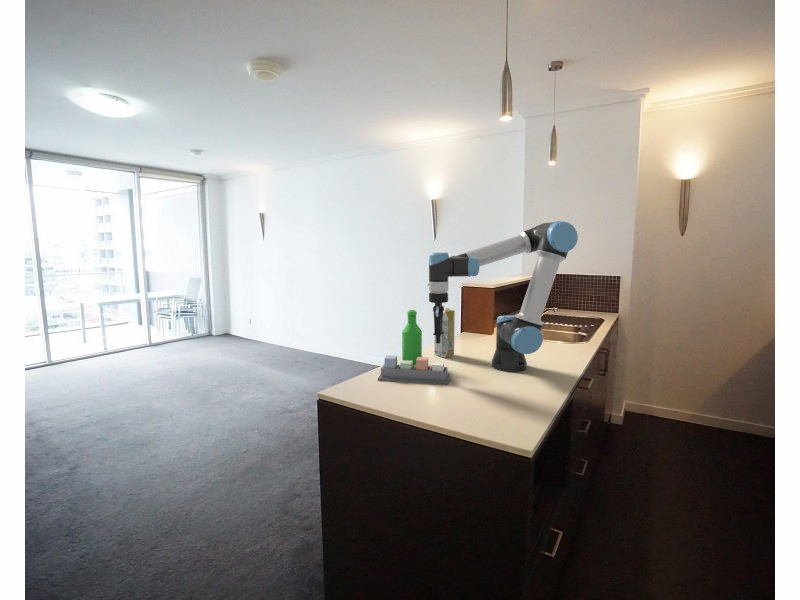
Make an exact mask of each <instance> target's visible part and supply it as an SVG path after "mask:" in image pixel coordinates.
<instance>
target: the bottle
mask: <svg viewBox="0 0 800 600" xmlns="http://www.w3.org/2000/svg"><path fill="white" fill-rule="evenodd" d="M406 314H407V322H406V323H407V324H406V325H405V326H404V328H403V329H402V330H401V331H402V332H401V335H402V336H401V343H402V344H401V348H402V349H401V353H402V354H401V356H402V357H401V358H402V360H408V361H413V365H416V359H417V357H423V352H422V351H423V348H422V347H423V344H422V343H423V338H422V336H423V331H422V329H421V328H420V326H419V325H418V323H417V314H418V312H417V310H414V309H410V310H407V313H406ZM402 360H401V361H402Z"/></svg>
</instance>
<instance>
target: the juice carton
mask: <svg viewBox="0 0 800 600" xmlns="http://www.w3.org/2000/svg"><path fill="white" fill-rule="evenodd" d="M455 312H456V311H455V310H453V309H451V308H450V307H449V306H444V310H443V323H442V329H443V330H442V332H444V334H442V351H435V341H434V346H433V347H434V355H435V356H437V357H441V358H443V359H445V358H446V359H447V358H451V357H454V356H455V331H456V330H455V327H456V326H455V321H456V320H455V319H456V318H455V314H456V313H455Z"/></svg>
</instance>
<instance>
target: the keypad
mask: <svg viewBox="0 0 800 600" xmlns="http://www.w3.org/2000/svg"><path fill="white" fill-rule="evenodd" d="M448 368H449V367H447V366H444V371H432V365H431V366H430V365H428V371H427V370H416V365H413V370H409V369H400V364H397V369H391V368H385V363H383V365H382V366H381V368H380V375H379V376H378V377H377V382H396V383H410V384H411V383H414V384H426V385H428V384H429V385H442V386H443V385H444V386H448V385H449V381H450V374H451V373H448V372H449V371H448Z"/></svg>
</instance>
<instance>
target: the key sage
mask: <svg viewBox="0 0 800 600" xmlns="http://www.w3.org/2000/svg"><path fill="white" fill-rule="evenodd" d="M399 365H400V369H409V370H413V361H408V360H401V361H400V362H399Z"/></svg>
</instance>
